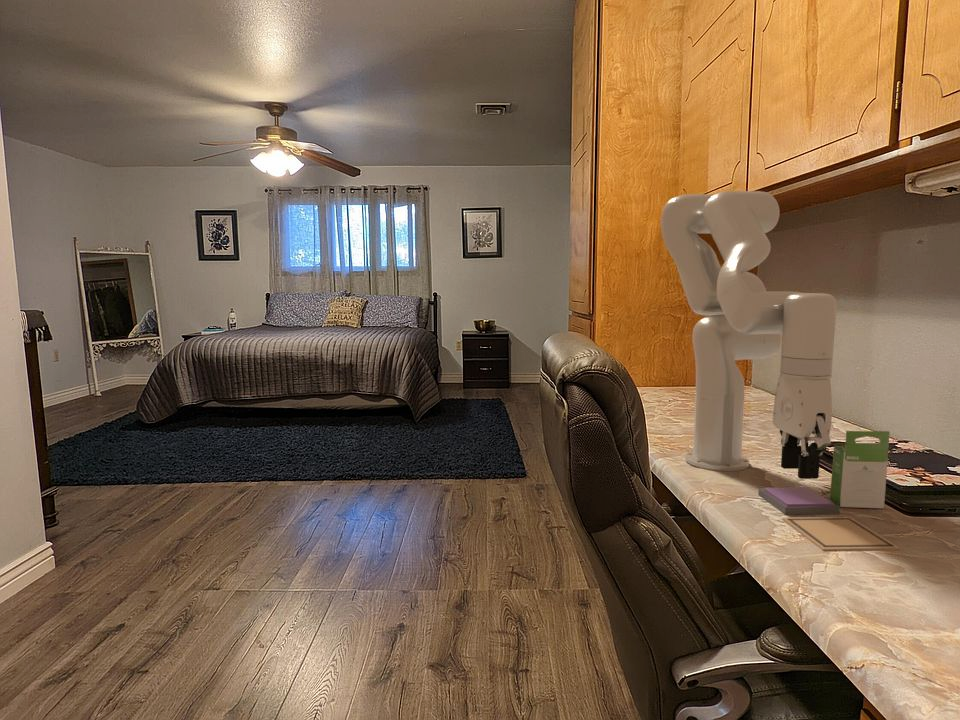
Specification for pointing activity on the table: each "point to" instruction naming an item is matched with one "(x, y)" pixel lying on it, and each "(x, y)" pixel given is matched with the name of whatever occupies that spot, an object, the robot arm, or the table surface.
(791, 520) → the marked card
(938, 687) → the table surface
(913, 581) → the table surface
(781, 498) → the ink pad
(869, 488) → the ink box
